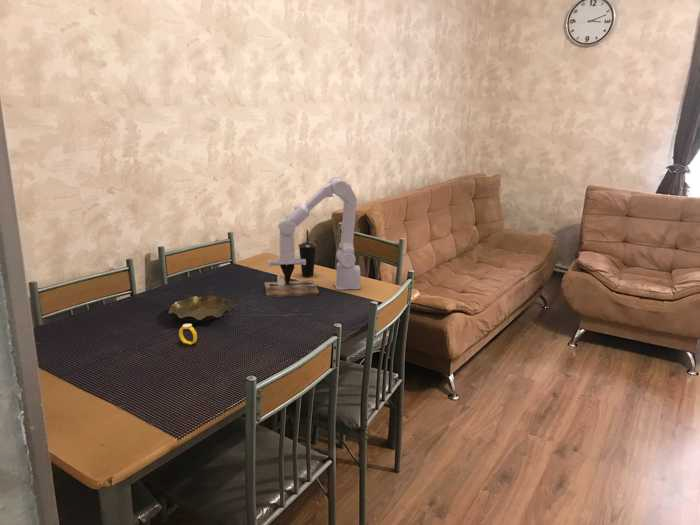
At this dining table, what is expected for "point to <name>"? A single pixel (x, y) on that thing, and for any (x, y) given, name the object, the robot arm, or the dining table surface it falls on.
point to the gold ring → (189, 326)
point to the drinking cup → (307, 257)
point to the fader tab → (280, 280)
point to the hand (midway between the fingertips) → (287, 282)
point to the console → (291, 288)
